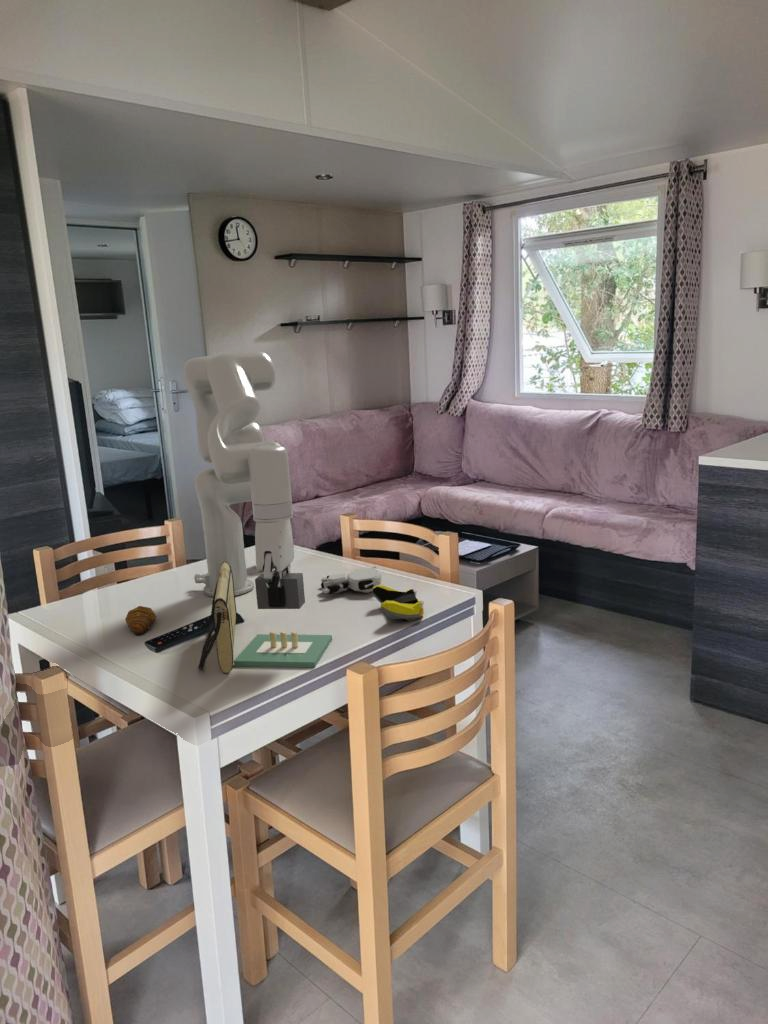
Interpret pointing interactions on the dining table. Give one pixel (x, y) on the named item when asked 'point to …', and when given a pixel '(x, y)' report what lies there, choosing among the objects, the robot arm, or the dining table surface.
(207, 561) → the robot arm
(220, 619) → the clutch purse
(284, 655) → the pin board
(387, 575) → the dining table surface
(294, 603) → the block
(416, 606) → the yellow black shoe
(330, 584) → the robot toy
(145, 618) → the croissant
